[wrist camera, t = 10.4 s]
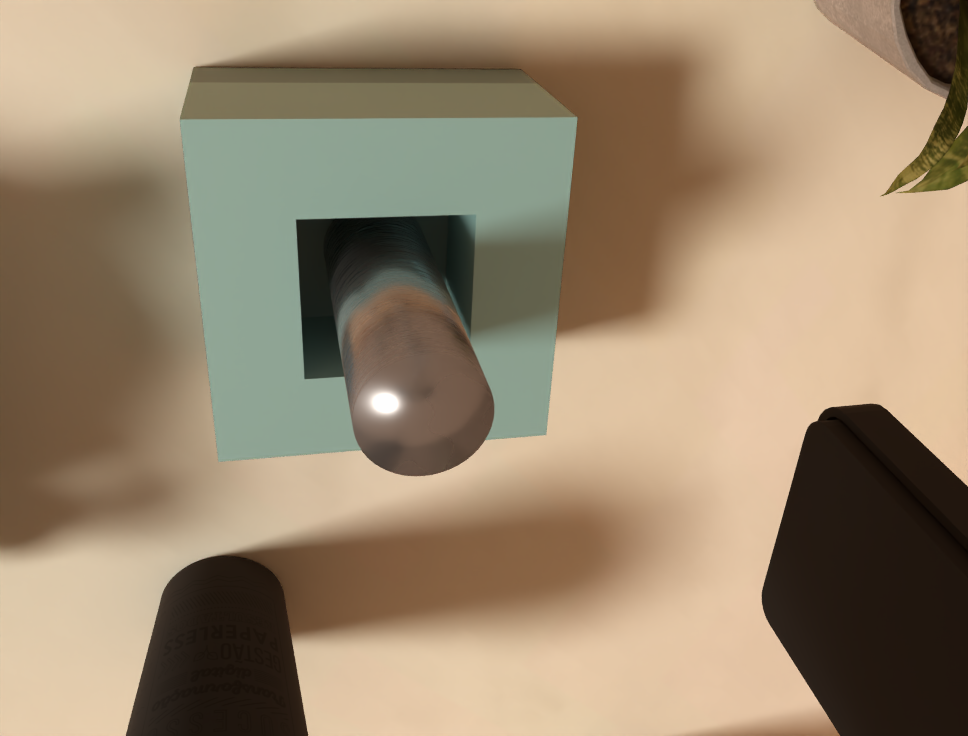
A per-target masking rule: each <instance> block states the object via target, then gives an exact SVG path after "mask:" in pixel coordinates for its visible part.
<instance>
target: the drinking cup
mask: <svg viewBox="0 0 968 736" xmlns="http://www.w3.org/2000/svg"><path fill="white" fill-rule="evenodd" d="M126 736H308V732H307V726H306V720H305V715H304V709H303V703H302V697H301V691H300V685H299V680H298V674H297V668H296V662H295V656H294V651H293V645H292V639H291V633H290V627H289V621H288V616H287V610H286V604H285V598H284V593H283V589H282V586H281V584H280V582H279V580H278V579H277V578H276V576H275V575H274V574H273V573H272V572H271V571H270V570H268V569H267V568H266V567H264V566H262V565H260V564H259V563H256V562H254V561H251V560H248V559H244V558H239V557H215V558H209V559H205V560H201V561H199V562H196V563H194V564H191V565H189V566H187V567H186V568H184V569H183V570H181V571H180V572H179V573H177V574H176V575H175V576H174V577H173V578H172V579H171V580H170V581H169V583H168V584H167V586H166V587H165V589H164V591H163V594H162V597H161V601H160V605H159V609H158V613H157V617H156V621H155V625H154V628H153V632H152V636H151V640H150V644H149V648H148V652H147V656H146V659H145V663H144V667H143V671H142V675H141V679H140V683H139V687H138V690H137V694H136V698H135V702H134V706H133V710H132V714H131V718H130V721H129V725H128V729H127V733H126Z"/></svg>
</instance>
